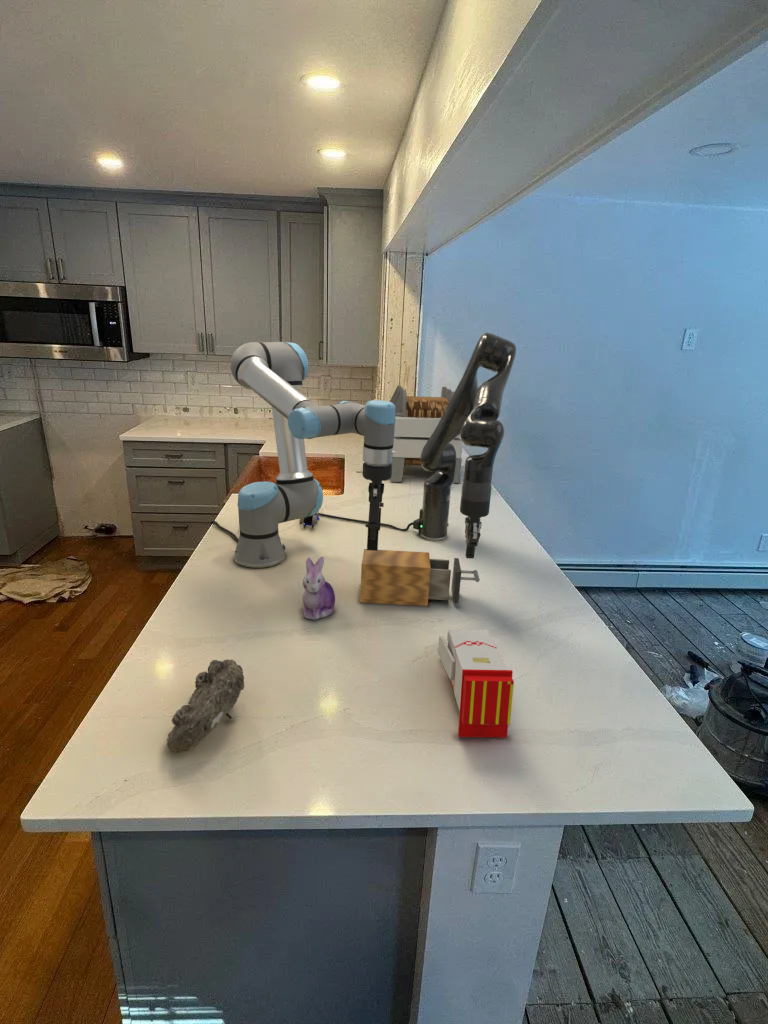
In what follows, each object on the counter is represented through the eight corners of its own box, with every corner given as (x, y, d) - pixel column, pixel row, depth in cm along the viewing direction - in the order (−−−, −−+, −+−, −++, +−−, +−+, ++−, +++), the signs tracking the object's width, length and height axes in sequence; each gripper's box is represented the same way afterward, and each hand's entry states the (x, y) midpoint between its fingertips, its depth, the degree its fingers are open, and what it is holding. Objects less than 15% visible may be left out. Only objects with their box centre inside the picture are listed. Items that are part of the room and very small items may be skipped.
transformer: (382, 463, 289) (386, 382, 275) (445, 464, 293) (451, 384, 279) (390, 482, 257) (394, 392, 243) (460, 483, 261) (468, 394, 247)
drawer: (474, 589, 160) (477, 559, 157) (478, 604, 152) (481, 573, 149) (396, 585, 161) (397, 554, 157) (395, 600, 152) (397, 568, 149)
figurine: (308, 624, 140) (307, 569, 135) (294, 605, 149) (293, 553, 144) (343, 617, 145) (344, 563, 139) (327, 599, 153) (328, 548, 148)
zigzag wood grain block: (426, 589, 161) (429, 552, 158) (427, 606, 152) (430, 567, 148) (362, 585, 162) (364, 548, 158) (360, 602, 152) (361, 563, 149)
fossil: (192, 660, 117) (244, 628, 112) (224, 691, 120) (276, 661, 115) (142, 746, 98) (202, 712, 93) (182, 779, 101) (242, 748, 96)
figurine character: (317, 534, 199) (321, 515, 212) (317, 515, 196) (321, 497, 209) (298, 534, 199) (303, 515, 212) (298, 515, 195) (302, 496, 209)
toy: (488, 613, 130) (523, 677, 101) (484, 667, 133) (517, 744, 104) (435, 612, 130) (455, 676, 101) (432, 666, 133) (451, 743, 103)
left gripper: (391, 478, 132) (386, 560, 140) (393, 451, 156) (389, 523, 163) (359, 476, 133) (355, 558, 140) (366, 449, 156) (363, 521, 163)
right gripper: (494, 505, 140) (486, 568, 146) (487, 489, 152) (480, 548, 158) (463, 503, 140) (457, 567, 146) (459, 487, 153) (453, 546, 158)
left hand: (373, 539), depth 152 cm, fingers open, 13 cm apart
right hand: (469, 557), depth 152 cm, fingers closed
